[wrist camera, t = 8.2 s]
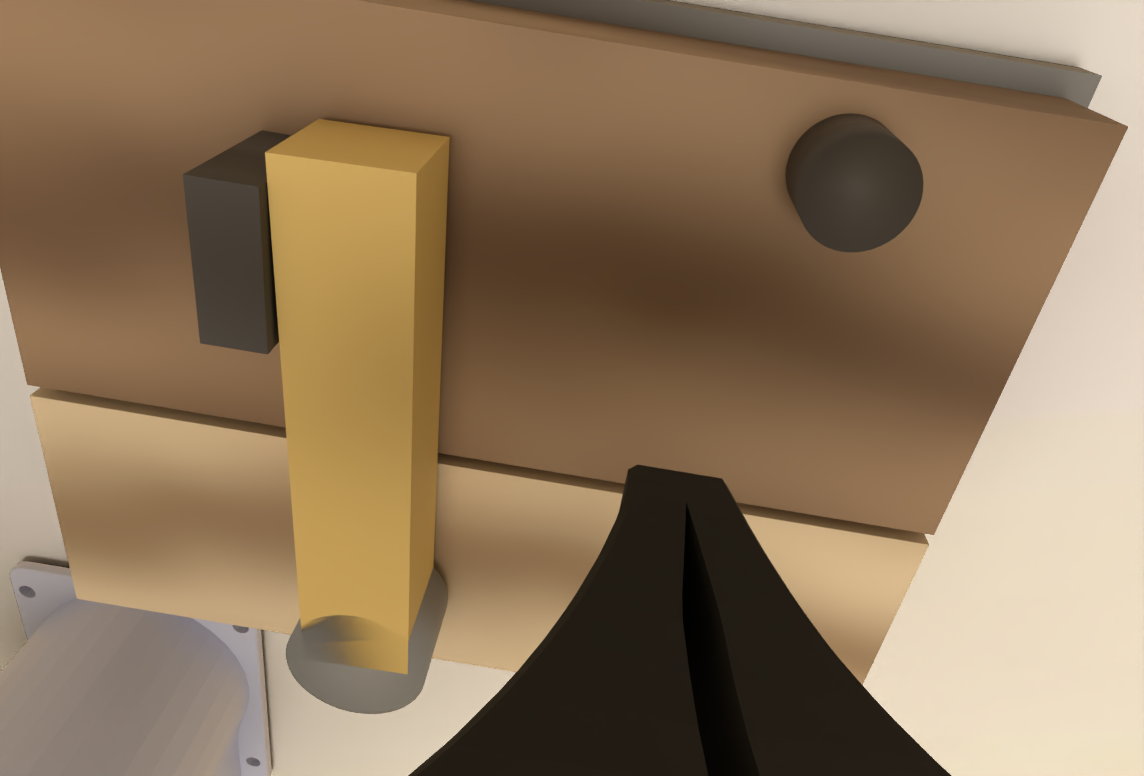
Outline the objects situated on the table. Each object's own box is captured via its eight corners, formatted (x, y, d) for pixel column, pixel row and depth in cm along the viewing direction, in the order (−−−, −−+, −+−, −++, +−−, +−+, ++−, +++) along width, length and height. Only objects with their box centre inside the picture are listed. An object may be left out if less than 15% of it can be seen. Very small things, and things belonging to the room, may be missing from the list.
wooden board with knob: (831, 642, 25) (881, 849, 20) (132, 526, 26) (-15, 699, 20) (1079, 67, 17) (1290, 145, 11) (22, -106, 17) (-290, -114, 11)
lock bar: (445, 644, 22) (423, 722, 19) (324, 626, 22) (290, 702, 19) (471, 139, 15) (441, 176, 13) (297, 115, 15) (239, 148, 13)
